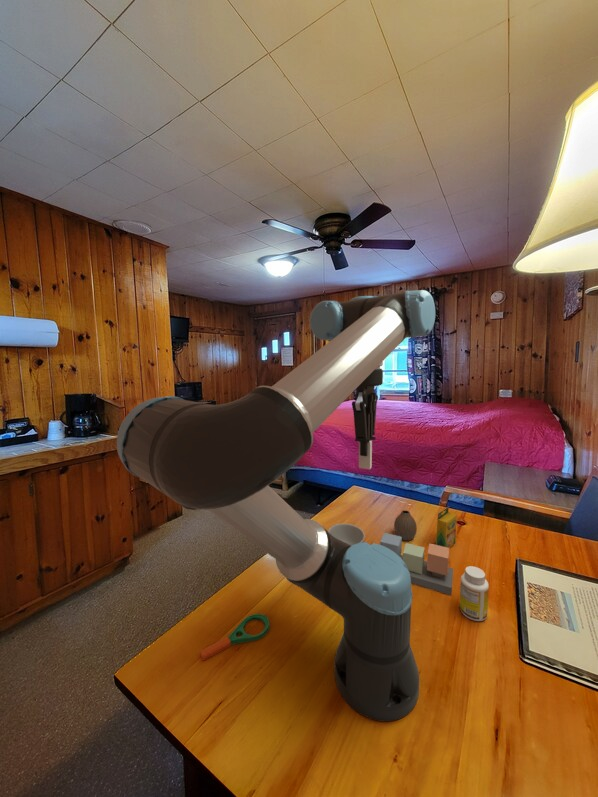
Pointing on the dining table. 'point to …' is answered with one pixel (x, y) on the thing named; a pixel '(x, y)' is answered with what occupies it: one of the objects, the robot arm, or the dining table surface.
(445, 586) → the button board
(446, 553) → the button terracotta
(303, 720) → the dining table surface
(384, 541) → the button slate
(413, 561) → the button sage
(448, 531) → the crayon box
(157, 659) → the dining table surface
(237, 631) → the magnifying glass
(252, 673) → the dining table surface
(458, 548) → the dining table surface
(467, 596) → the supplement bottle
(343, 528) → the teacup
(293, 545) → the robot arm
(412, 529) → the vase
